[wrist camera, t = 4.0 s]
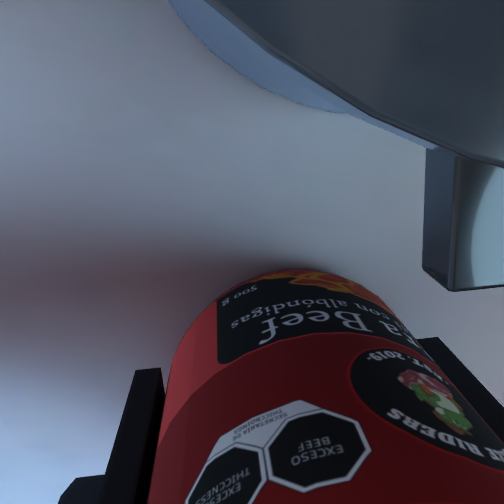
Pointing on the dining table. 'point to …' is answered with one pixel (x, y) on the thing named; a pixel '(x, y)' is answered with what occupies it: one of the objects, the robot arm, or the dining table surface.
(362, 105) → the pot
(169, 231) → the dining table surface
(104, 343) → the dining table surface
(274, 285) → the canned food
